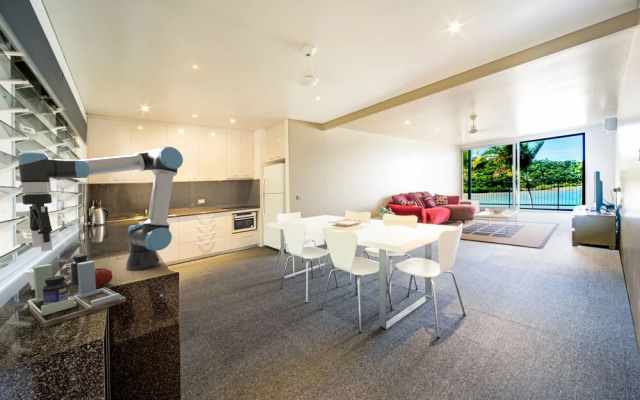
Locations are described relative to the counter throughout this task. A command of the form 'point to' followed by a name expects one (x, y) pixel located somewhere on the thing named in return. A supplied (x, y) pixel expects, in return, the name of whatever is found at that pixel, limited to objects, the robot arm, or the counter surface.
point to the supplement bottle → (74, 266)
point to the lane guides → (76, 314)
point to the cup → (31, 278)
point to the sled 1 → (39, 279)
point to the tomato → (102, 276)
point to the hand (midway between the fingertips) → (42, 248)
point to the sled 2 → (91, 285)
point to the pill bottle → (55, 290)
